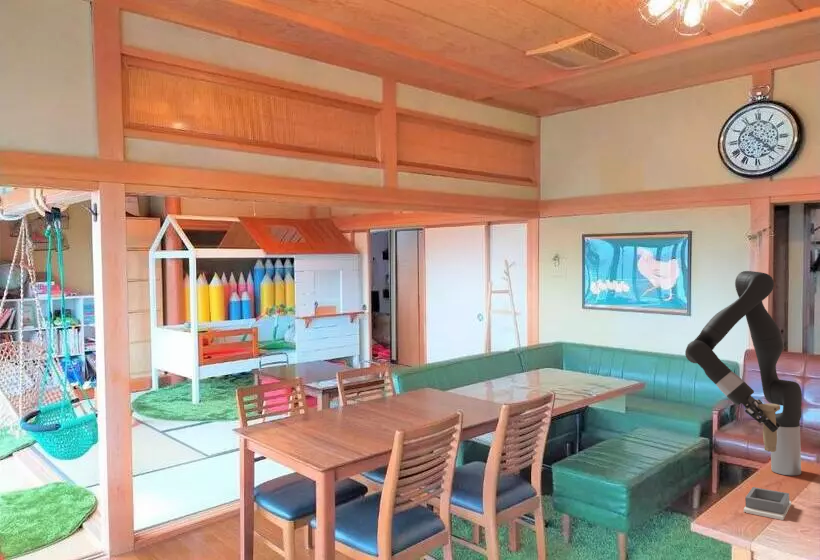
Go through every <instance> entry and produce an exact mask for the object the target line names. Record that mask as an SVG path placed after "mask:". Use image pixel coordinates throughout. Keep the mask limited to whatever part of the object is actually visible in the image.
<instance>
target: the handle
mask: <svg viewBox="0 0 820 560" xmlns="http://www.w3.org/2000/svg"><path fill="white" fill-rule="evenodd" d="M758 406H759V408H760V409H761V410H762V411H764V414H765V415H766V416H767V417H768V418H769V419H770V420H771V421H772V422H773V423H774V424H775V425H776V418H775V414H777V412H778V411H780V410H781V405H777V404H772V403H763V404H759V405H758ZM769 419H768V420H769ZM762 438H763V439H762V440H763V445H764V451H766V452H770V453H771V452H775V451H776V447H775V446H776V445H777V430H776V431H775V432H772V431H771V430H770V429H769V428H768V427H767V426H766V425H765V424H764V423H763V426H762Z"/></svg>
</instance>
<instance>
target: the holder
mask: <svg viewBox="0 0 820 560" xmlns="http://www.w3.org/2000/svg"><path fill="white" fill-rule="evenodd" d="M791 506H792V500H790V493H789V492H784V491H777V490H773V489H767V488H766V489H765V488H760V487H755V486H753V487H751V489H750V490H749V491H748V493H747V494H746V496H745V506H744V508H743V513H745V512H746V514H751V515H755V516H760V517H765V518H769V519H770V518H771V519H776V520H780V521H784V519H785V518H786V516H787V513H788V511H789V509H790V508H791Z"/></svg>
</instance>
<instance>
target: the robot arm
mask: <svg viewBox="0 0 820 560" xmlns="http://www.w3.org/2000/svg"><path fill="white" fill-rule="evenodd" d="M734 284H735V285H734V286H735V291H736V294H737V297H738V298H737V299H736V300H735V301H733V302H732V303H731V304H729V305H727V306H726V307H724V308H722V309H721V310H719V311H718V312H717V313H716V314H715V315H713V316H712V317H711V318H710V320H709V321H708V322H707V323H706V324H705V326H704V327H703V328H702V330H701V331H700V333H699V334H698V335H697V336H696V337H695V338H694V340H692V341H690V342H689V343H688V344H687V346H686V348H685V357H686V359H687V361H689V362H690V363H692V364H698V366H699V367H700V368H701V369H702V370H703V372H704V375H706V377H708V378H709V380H710V381H711V382H712V383H714V385H715V386H716V387H717V388H718V389H719V390H720V392H722V393H723V394H724V395H725V397H727V398H728V399H729V401H731V402H732V403H733V404H734V405H735V406H739V405H743V406H744V412H745V413H746V414H747V415H748V416H750V417H751V418H752V419H754V420H755V421H756V422H758V423H759V424H763V423H764V424H765V425H766V426H767V427H768V428H769V429H770V430H771V431H772V432H775V431H776V430H777V445H776V446H775V447H776V451H775V452H770V465H771V467H770V468H771V471H772V472H773V473H776V474H780V475H785V476H800V475H801V474H802V453H801V451H802V450H801V429H800V428H801V427H800V426H801V423H800V422H801V417H802V406H803V405H802V404H803V403H802V402H803V394H802V393H803V391H802V387H801V386H800V384H799V383H798V382H796V381H793V380H786V379H780V378H779V377H778V374H777V363H778V362H779V359H780V357H781V354H782V352H783V351H784V350H783V349H784V342H783V339H782V334H781V331H780V328H779V326H778V324H777V322H776V321H775V320H774V319H773V317H772V316H771V314H770V313H769V312H768V311H767V309H766V308H765V305H764V303H763V301H764V300H766V298H767V297H769V295H771V293H772V292H773V290H774V287H775V281H774V279H773V277H772V276H771V275H770V274H768V273H765V272H761V271H752V270H745V271H744V270H743V271H741V272H739V273H738V274H737V276H736V278H735V282H734ZM744 317H746V321H747V322H746V323H747V325H748V328H749V333H750V338H751V341H752V345H753V348H754V351H755V356H756V359H757V364H758V368H759V373H760V380H761V387H762V392H763V395H764V398H765V400H766V402H768V404H777V405H780V406H782V412H780V413H775V418H776V425H775V424H774V423H773V422H772V421H771V420H770V419H769V418H768V417H767V416H766V415H765V414H764V411H762V410H761V409H760V408H759V406H758V405H759V404H764V403H763V401H762V400H761V399H759V398H758V399H757V398H754V397H753V396H752V394H755V390H754V389H753V388H752V387H751V386H749V384H748V383H746V382H745V381H744V380H743V379H742V378H741V377H740V376H739V375H738V374H737V373H735V372H734V371H732V369H731V368H729V366H727V365H726V364H725V363H724V362H723V361H722V360H721V359H720V358H719V357H718V355H717V354H716V353H715V352H714V351H713V350H714V349H715V347H716V346H717V345H718V344H719V343H720V342H721V341H722V340H723V339H724V338H725V337H726V335H727V334H728V333H730V331H731V330H732V329H733V327H735V325H736V324H737V323H738V322H740V320H741V319H743V318H744ZM768 419H769V420H768Z"/></svg>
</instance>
